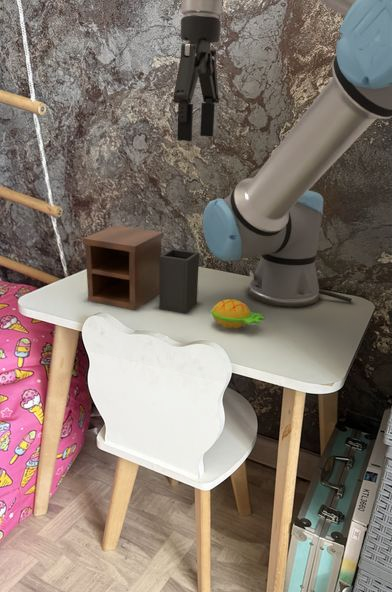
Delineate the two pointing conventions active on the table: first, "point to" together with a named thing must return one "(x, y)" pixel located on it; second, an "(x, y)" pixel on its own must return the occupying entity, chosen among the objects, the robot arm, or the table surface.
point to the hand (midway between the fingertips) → (196, 138)
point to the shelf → (123, 266)
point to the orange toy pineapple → (234, 314)
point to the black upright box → (178, 280)
